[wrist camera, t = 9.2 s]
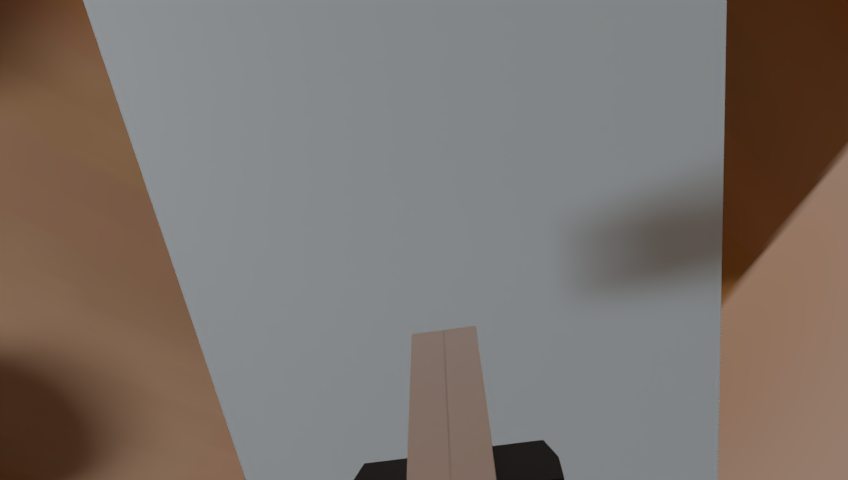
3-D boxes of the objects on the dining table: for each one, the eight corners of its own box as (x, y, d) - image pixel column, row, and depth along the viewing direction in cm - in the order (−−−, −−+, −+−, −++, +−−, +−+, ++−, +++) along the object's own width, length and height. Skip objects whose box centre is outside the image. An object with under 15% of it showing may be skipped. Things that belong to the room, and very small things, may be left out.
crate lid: (705, 476, 25) (717, 500, 24) (275, 520, 26) (268, 545, 25) (711, -158, 17) (729, -164, 16) (89, -47, 18) (67, -45, 17)
